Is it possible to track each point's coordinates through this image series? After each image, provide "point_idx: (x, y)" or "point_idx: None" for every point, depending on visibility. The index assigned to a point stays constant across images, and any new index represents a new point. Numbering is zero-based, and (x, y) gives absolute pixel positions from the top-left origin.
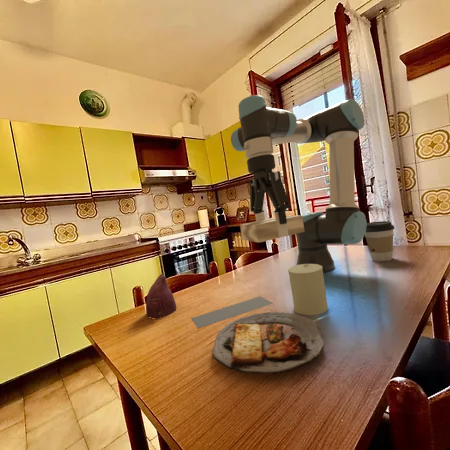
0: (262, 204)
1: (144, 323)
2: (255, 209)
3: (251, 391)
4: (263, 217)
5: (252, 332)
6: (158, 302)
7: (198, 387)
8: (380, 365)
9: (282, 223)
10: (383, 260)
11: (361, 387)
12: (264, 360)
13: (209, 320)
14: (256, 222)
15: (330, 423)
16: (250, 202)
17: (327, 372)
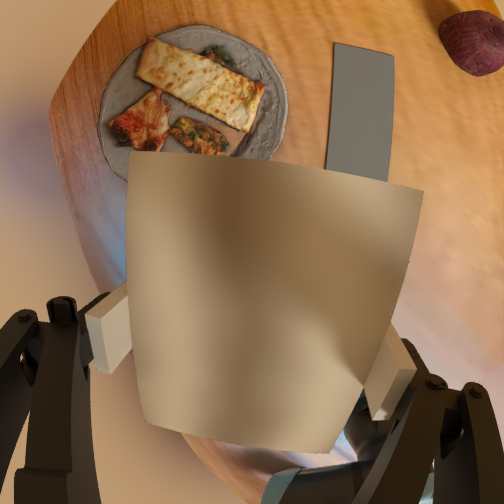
0: (375, 464)
1: (435, 5)
2: (416, 397)
3: (124, 54)
4: (369, 387)
5: (228, 106)
6: (457, 19)
7: (172, 6)
8: (74, 198)
9: (104, 294)
10: (286, 469)
11: (67, 155)
12: (151, 86)
13: (353, 73)
14: (296, 267)
15: (62, 104)
16: (496, 436)
17: (93, 142)
